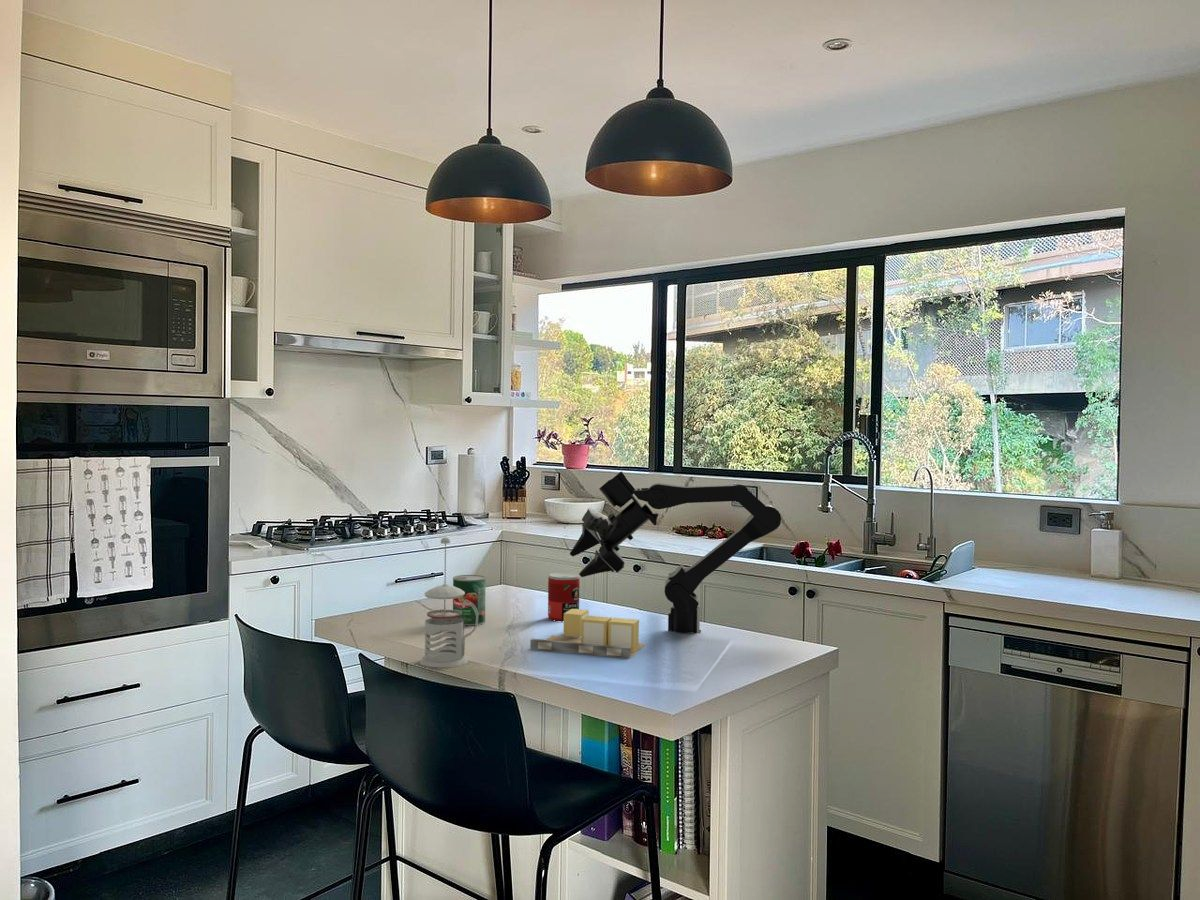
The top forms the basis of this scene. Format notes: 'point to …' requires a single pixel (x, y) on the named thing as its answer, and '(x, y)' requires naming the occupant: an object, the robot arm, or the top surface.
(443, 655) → the french press
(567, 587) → the canned food
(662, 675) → the top surface
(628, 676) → the top surface
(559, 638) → the shelf board
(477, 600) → the canned tomato
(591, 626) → the tea box
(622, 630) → the tea box
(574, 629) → the tea box turned
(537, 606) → the top surface
